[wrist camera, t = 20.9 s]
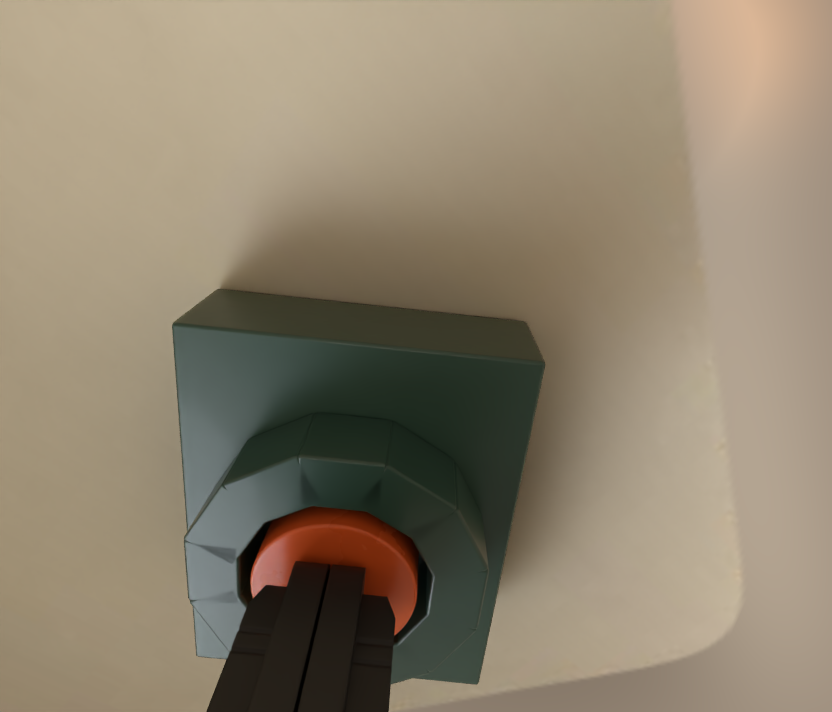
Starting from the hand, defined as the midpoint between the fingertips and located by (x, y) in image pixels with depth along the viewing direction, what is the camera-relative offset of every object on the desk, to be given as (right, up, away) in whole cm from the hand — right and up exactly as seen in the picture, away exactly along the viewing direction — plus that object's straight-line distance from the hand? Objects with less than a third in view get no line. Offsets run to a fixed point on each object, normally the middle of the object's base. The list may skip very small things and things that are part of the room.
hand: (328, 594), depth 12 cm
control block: (0, +2, +4) cm, 5 cm away
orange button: (0, +1, +2) cm, 2 cm away
